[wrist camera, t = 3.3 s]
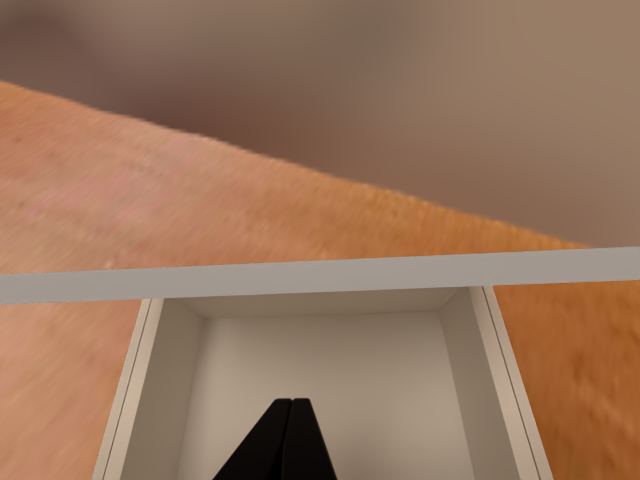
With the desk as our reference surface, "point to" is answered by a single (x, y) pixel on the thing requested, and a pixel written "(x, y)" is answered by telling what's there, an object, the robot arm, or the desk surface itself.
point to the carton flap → (325, 276)
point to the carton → (326, 385)
